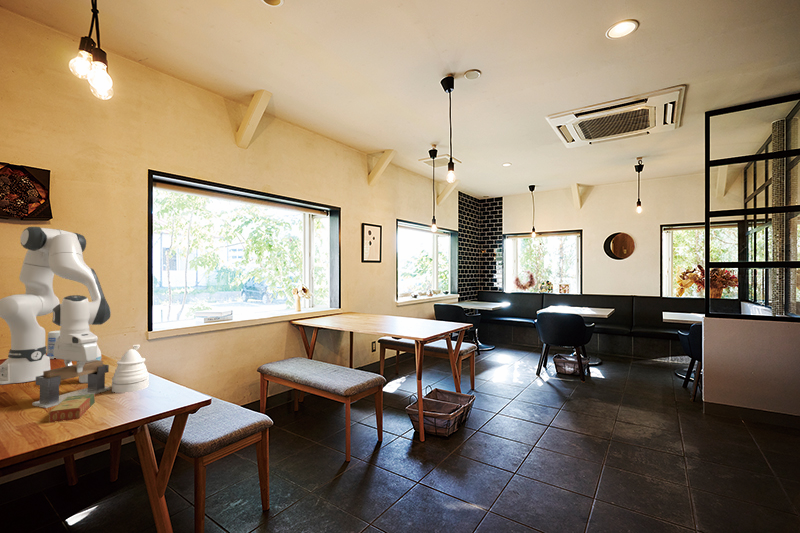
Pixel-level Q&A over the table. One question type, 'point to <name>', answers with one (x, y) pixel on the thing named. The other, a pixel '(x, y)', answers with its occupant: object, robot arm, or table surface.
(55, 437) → the table surface
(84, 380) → the milk bottle
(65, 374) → the rail
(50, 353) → the supplement tub
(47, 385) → the bracket stand
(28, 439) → the table surface
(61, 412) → the carton
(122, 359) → the honey pot
